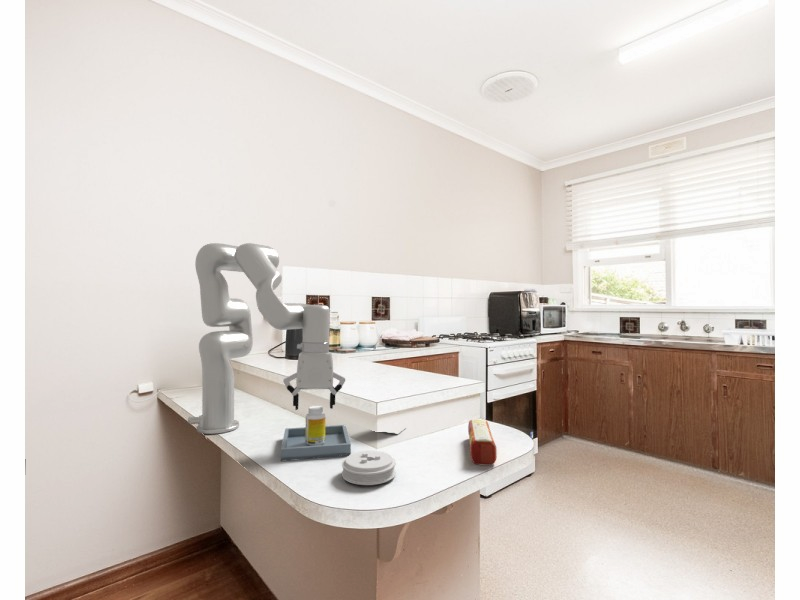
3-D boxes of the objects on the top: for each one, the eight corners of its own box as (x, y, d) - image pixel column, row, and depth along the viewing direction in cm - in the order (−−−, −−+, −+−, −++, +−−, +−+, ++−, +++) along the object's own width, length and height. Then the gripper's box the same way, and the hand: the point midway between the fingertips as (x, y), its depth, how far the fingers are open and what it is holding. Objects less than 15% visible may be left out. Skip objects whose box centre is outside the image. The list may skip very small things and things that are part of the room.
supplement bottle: (328, 443, 116) (329, 407, 116) (311, 448, 112) (311, 410, 112) (318, 438, 120) (319, 404, 120) (301, 442, 116) (302, 406, 117)
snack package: (467, 438, 124) (467, 416, 124) (490, 439, 123) (490, 416, 123) (470, 466, 102) (470, 439, 102) (497, 467, 102) (496, 440, 102)
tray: (280, 461, 105) (280, 449, 105) (285, 438, 123) (285, 428, 123) (350, 455, 109) (350, 444, 109) (345, 434, 127) (345, 424, 127)
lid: (406, 480, 94) (406, 458, 94) (357, 494, 87) (357, 471, 87) (378, 462, 105) (378, 443, 105) (333, 473, 98) (333, 452, 98)
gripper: (283, 349, 111) (281, 412, 111) (347, 349, 114) (345, 410, 114) (285, 346, 118) (283, 405, 118) (345, 346, 122) (343, 403, 122)
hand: (314, 408), depth 116 cm, fingers open, 9 cm apart
